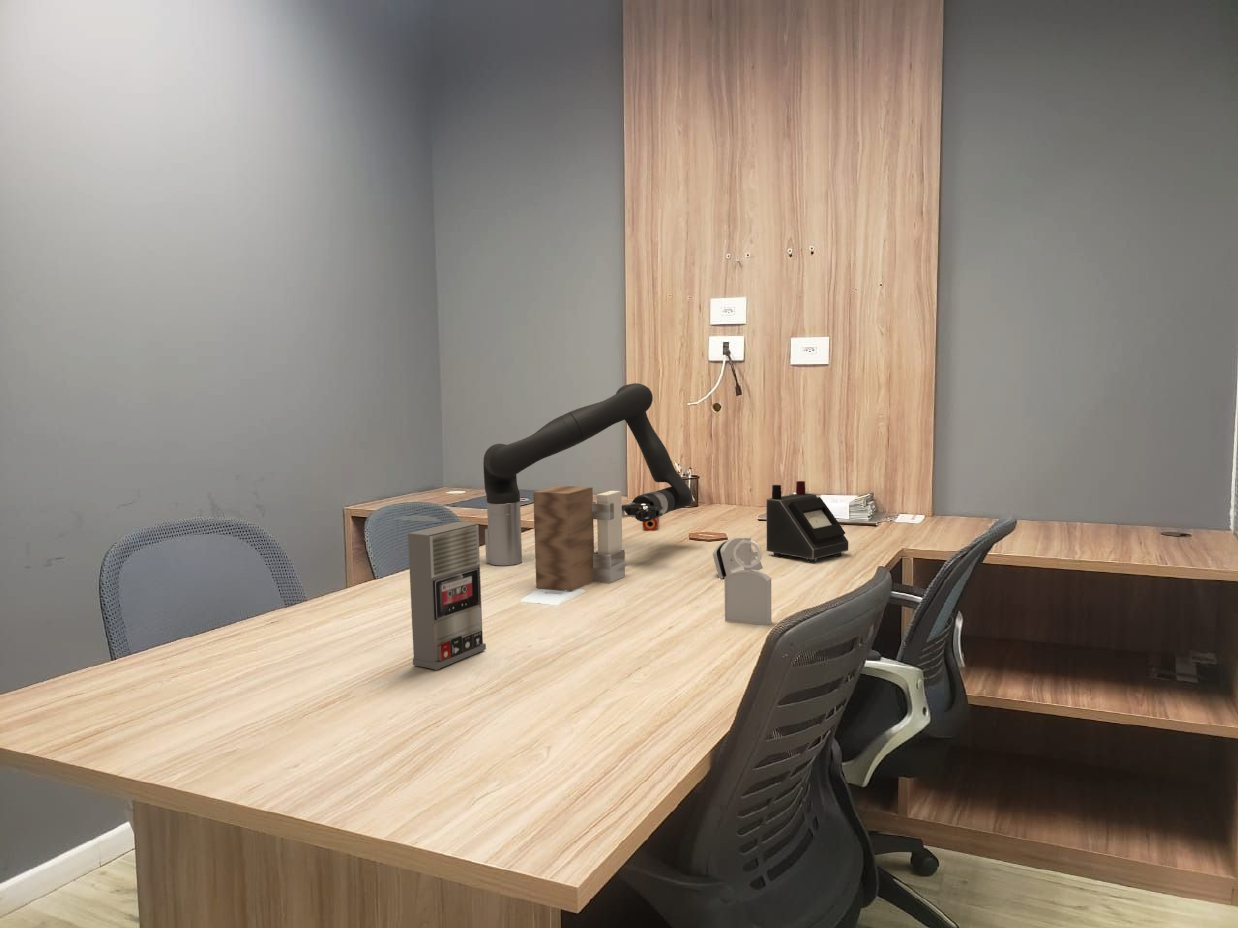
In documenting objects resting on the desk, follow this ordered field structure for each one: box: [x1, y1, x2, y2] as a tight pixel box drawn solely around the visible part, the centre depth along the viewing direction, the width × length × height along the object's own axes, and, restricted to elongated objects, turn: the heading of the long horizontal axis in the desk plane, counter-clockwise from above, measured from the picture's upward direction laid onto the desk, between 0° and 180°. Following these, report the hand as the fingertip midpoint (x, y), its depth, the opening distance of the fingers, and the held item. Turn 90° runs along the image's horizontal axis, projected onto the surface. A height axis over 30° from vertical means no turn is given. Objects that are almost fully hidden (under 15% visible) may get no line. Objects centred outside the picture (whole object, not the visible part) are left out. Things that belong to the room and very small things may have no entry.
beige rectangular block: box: [596, 490, 623, 555], centre depth 240 cm, size 3×8×18 cm, turn 154°
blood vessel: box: [642, 517, 659, 532], centre depth 328 cm, size 42×5×5 cm, turn 177°
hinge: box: [712, 537, 764, 579], centre depth 244 cm, size 17×5×10 cm, turn 148°
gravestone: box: [723, 536, 772, 626], centre depth 197 cm, size 3×9×18 cm, turn 65°
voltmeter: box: [765, 480, 849, 564], centre depth 262 cm, size 16×16×20 cm
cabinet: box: [532, 485, 626, 592], centre depth 236 cm, size 15×20×24 cm
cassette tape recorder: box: [407, 521, 487, 671], centre depth 176 cm, size 14×6×25 cm, turn 148°
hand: (623, 515), depth 247 cm, fingers open, 8 cm apart
